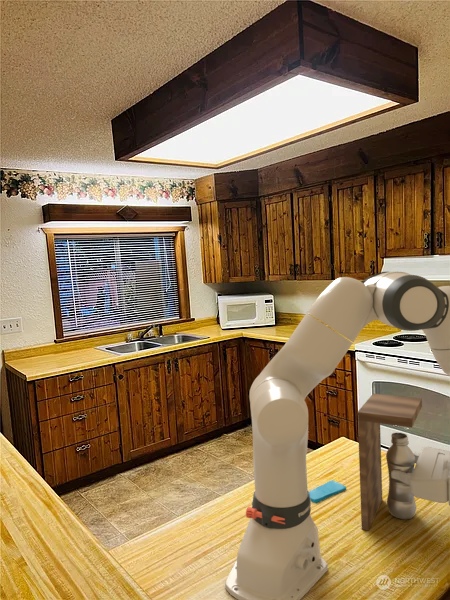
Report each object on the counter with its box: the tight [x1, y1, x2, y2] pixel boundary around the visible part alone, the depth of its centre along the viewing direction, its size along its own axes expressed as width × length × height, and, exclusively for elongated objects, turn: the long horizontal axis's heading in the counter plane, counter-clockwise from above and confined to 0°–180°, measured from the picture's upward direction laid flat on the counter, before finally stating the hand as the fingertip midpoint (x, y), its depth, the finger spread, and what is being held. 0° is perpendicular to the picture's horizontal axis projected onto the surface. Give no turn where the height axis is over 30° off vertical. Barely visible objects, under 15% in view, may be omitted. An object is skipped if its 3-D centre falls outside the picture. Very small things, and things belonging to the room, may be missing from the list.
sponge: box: [308, 479, 347, 504], centre depth 122 cm, size 2×12×6 cm
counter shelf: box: [357, 393, 423, 532], centre depth 107 cm, size 15×12×28 cm
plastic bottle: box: [385, 432, 417, 520], centre depth 108 cm, size 6×7×20 cm
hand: (395, 465), depth 108 cm, fingers open, 8 cm apart
